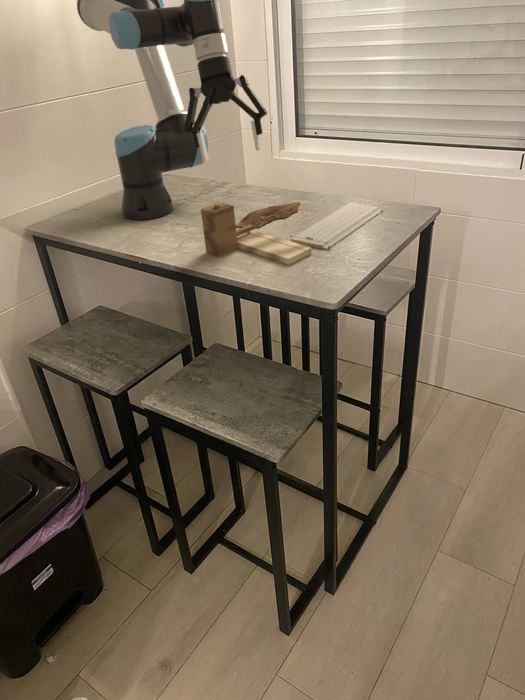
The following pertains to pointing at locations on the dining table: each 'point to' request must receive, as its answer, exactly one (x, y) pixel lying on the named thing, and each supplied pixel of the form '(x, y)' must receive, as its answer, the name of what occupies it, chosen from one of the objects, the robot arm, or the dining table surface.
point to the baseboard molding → (336, 226)
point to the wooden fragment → (268, 215)
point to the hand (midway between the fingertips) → (232, 155)
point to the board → (272, 247)
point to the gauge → (221, 229)
